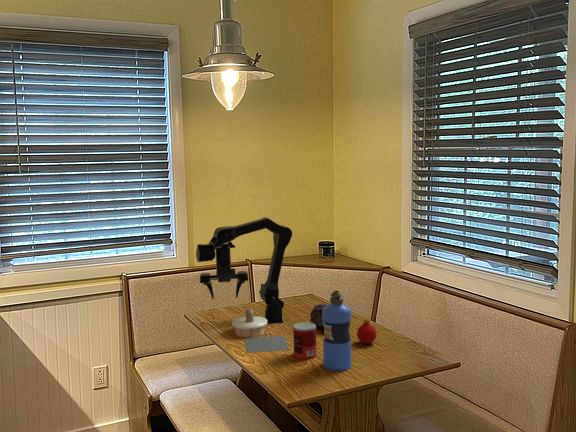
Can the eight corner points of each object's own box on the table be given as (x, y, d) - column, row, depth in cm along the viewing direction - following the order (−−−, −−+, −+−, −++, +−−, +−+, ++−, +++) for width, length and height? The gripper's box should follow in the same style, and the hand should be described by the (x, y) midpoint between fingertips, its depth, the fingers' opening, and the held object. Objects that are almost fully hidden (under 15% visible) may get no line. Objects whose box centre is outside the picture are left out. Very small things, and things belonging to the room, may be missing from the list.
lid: (265, 317, 235) (265, 304, 234) (269, 327, 221) (268, 314, 220) (231, 319, 233) (230, 306, 232) (232, 330, 219) (232, 316, 219)
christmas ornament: (371, 338, 218) (371, 312, 217) (380, 345, 212) (380, 318, 210) (353, 341, 216) (353, 314, 215) (362, 347, 210) (361, 320, 208)
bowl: (263, 327, 234) (262, 318, 233) (265, 337, 222) (265, 327, 222) (234, 329, 232) (234, 319, 232) (236, 339, 221) (235, 329, 220)
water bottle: (331, 373, 187) (330, 296, 184) (318, 363, 196) (317, 289, 193) (356, 368, 191) (356, 292, 188) (343, 358, 199) (342, 286, 196)
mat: (284, 336, 223) (284, 335, 223) (289, 350, 208) (289, 349, 208) (244, 339, 221) (244, 338, 221) (247, 353, 206) (247, 352, 206)
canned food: (319, 353, 205) (318, 323, 203) (312, 362, 197) (312, 330, 196) (298, 351, 207) (297, 321, 206) (290, 359, 200) (290, 328, 198)
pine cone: (344, 334, 224) (344, 308, 223) (320, 337, 221) (320, 311, 220) (327, 320, 241) (327, 297, 240) (304, 323, 238) (304, 299, 237)
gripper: (198, 265, 222) (200, 305, 224) (248, 262, 225) (249, 302, 227) (199, 259, 233) (201, 297, 235) (246, 256, 236) (247, 295, 238)
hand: (224, 298), depth 234 cm, fingers open, 9 cm apart
